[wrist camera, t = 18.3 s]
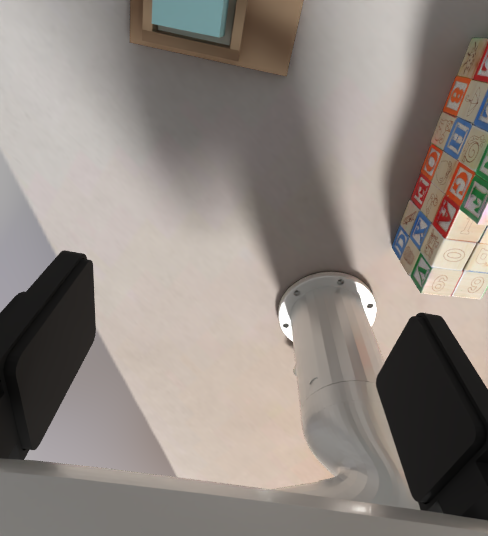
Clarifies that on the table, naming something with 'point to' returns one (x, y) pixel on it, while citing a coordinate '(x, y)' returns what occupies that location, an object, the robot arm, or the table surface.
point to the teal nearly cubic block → (192, 15)
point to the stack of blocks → (453, 192)
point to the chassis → (229, 34)
